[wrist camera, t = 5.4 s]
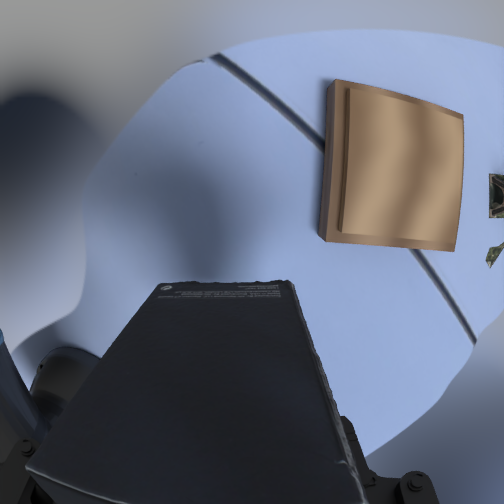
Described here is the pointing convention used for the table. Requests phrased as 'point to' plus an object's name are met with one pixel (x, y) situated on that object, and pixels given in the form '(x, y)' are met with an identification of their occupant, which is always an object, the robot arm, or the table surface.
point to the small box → (204, 408)
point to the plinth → (390, 170)
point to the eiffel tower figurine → (495, 210)
